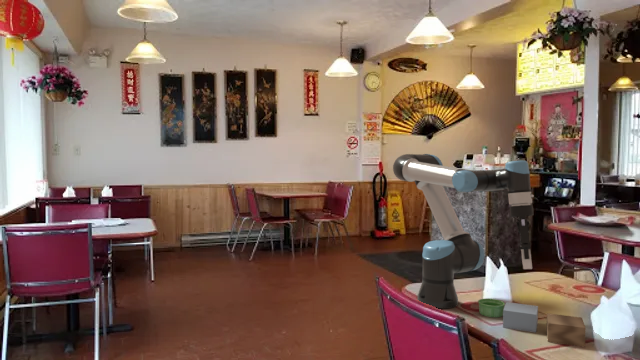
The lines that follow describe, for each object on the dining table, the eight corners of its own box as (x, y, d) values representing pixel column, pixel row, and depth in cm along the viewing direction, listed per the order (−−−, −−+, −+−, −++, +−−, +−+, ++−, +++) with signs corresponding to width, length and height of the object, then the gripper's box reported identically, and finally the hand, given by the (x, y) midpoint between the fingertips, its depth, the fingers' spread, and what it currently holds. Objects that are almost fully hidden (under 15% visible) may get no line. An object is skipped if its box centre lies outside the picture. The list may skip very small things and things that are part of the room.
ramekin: (502, 320, 167) (502, 307, 167) (475, 315, 172) (475, 303, 172) (506, 312, 175) (506, 300, 175) (480, 308, 180) (480, 297, 179)
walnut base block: (547, 342, 148) (548, 323, 147) (546, 331, 157) (546, 313, 156) (584, 347, 144) (585, 327, 143) (581, 336, 153) (581, 317, 153)
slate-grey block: (502, 328, 160) (503, 310, 160) (506, 319, 169) (506, 302, 168) (535, 333, 155) (536, 314, 155) (537, 323, 164) (538, 306, 164)
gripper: (534, 204, 156) (541, 270, 154) (531, 204, 179) (537, 262, 177) (509, 205, 158) (515, 271, 157) (509, 205, 182) (515, 262, 180)
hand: (527, 266), depth 167 cm, fingers open, 13 cm apart
